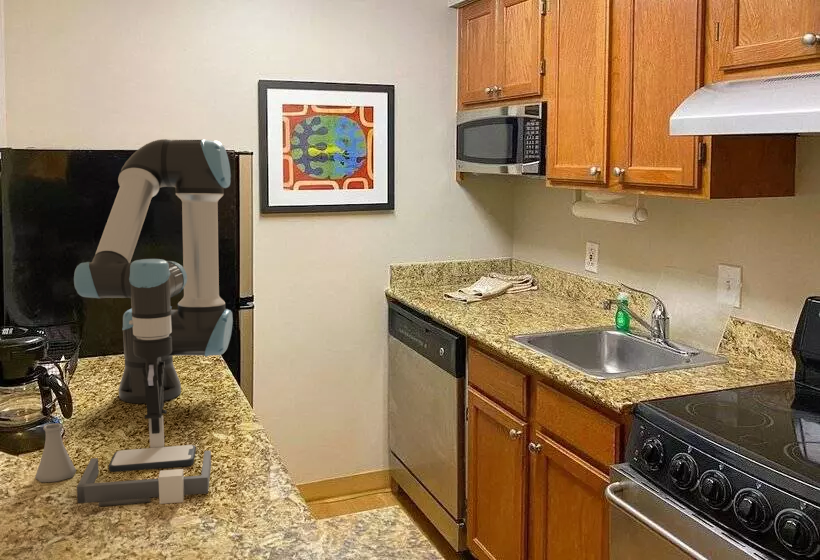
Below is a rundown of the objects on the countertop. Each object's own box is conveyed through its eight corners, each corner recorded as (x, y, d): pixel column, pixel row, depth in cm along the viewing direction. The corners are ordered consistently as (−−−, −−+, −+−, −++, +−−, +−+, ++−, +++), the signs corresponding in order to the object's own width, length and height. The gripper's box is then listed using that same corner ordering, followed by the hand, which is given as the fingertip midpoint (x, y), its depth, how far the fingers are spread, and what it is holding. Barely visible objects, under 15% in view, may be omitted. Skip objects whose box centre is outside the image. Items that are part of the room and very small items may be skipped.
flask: (35, 486, 143) (32, 435, 141) (34, 472, 149) (30, 422, 148) (78, 479, 146) (74, 429, 145) (74, 465, 152) (71, 417, 151)
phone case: (108, 474, 149) (193, 467, 152) (107, 466, 149) (192, 459, 152) (115, 457, 158) (196, 450, 161) (115, 450, 158) (195, 443, 161)
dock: (92, 473, 149) (90, 448, 148) (211, 464, 153) (210, 440, 153) (74, 510, 133) (72, 483, 132) (207, 500, 138) (206, 473, 137)
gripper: (137, 329, 161) (142, 436, 165) (128, 343, 149) (133, 459, 153) (174, 328, 163) (178, 434, 167) (168, 342, 150) (173, 456, 154)
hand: (157, 446), depth 160 cm, fingers closed
